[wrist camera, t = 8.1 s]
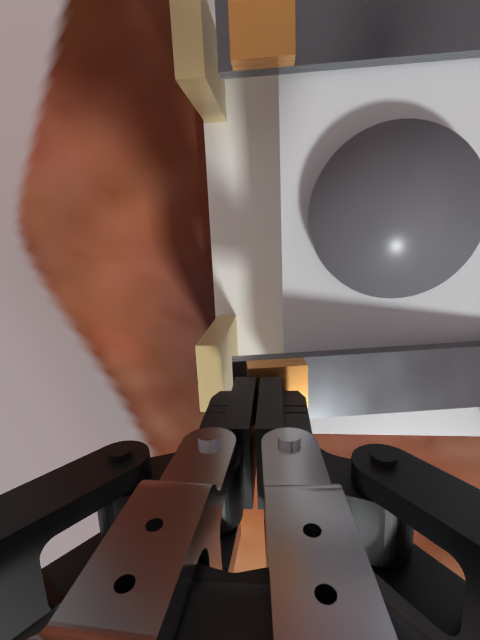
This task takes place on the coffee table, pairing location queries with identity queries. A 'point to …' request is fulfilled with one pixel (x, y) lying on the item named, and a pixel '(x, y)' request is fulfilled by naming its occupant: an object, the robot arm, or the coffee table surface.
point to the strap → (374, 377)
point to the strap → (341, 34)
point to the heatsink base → (337, 213)
